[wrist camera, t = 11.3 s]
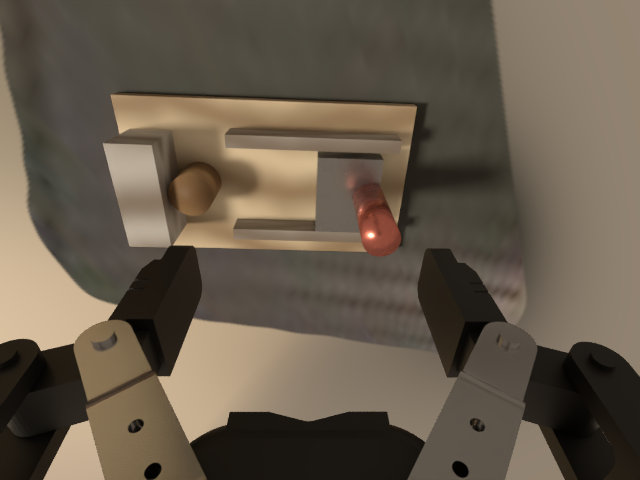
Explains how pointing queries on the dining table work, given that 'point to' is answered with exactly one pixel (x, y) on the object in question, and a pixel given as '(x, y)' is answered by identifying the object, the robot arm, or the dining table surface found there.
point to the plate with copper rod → (355, 200)
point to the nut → (194, 188)
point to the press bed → (246, 166)
